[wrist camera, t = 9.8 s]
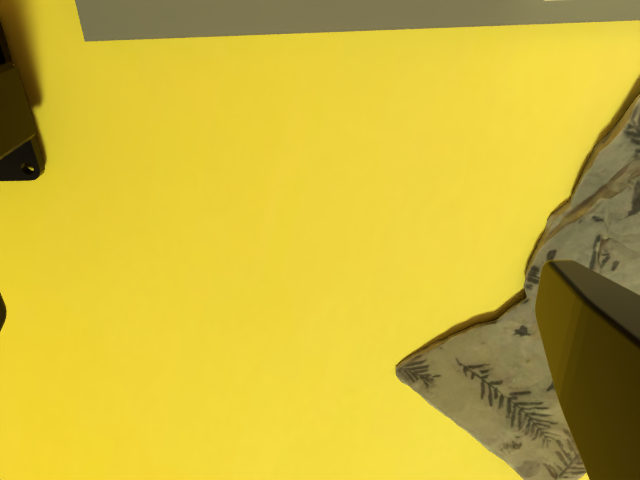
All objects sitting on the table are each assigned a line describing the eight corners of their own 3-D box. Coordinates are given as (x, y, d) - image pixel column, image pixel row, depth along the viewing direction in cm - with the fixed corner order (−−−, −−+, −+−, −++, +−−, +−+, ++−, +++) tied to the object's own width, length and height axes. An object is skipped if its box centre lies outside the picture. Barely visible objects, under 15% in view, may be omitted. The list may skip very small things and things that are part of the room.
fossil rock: (544, 470, 31) (558, 508, 29) (347, 329, 27) (347, 362, 25) (871, 279, 24) (921, 312, 22) (676, 44, 20) (714, 58, 18)
